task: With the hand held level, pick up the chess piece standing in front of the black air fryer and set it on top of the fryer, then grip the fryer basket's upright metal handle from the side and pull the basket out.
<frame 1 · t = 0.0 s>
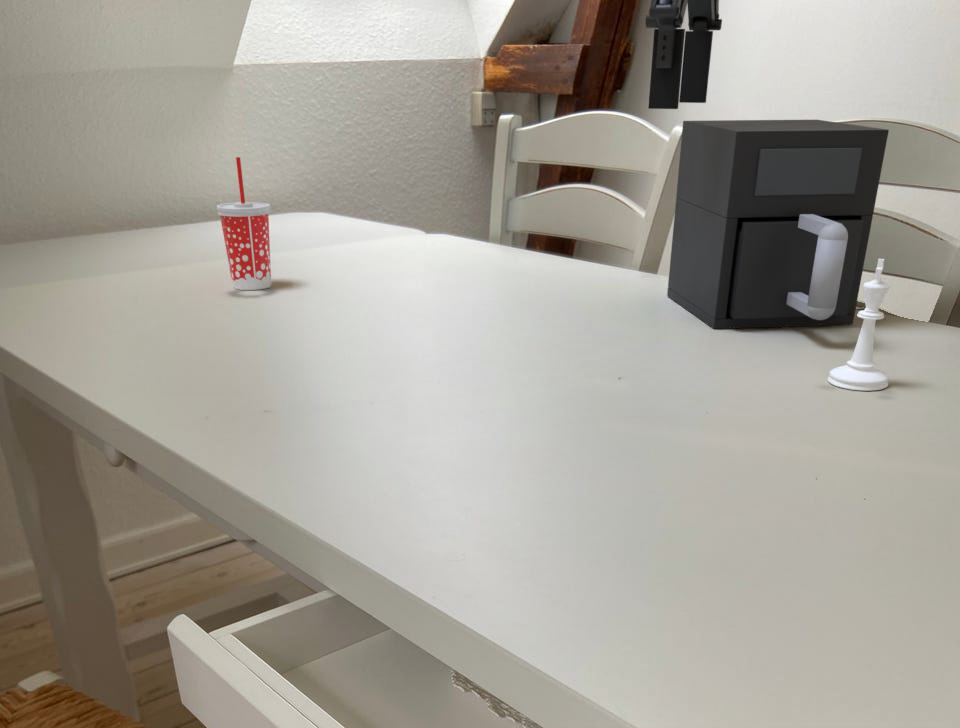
hand: (678, 106, 101), 20 cm above the table, tool pointing down, fingers open, 13 cm apart
fryer: (754, 309, 109), on the table
chess piece: (857, 384, 86), on the table
beverage cup: (252, 287, 120), on the table
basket: (782, 259, 102), point 6 cm above the table, slide at 0.0 cm
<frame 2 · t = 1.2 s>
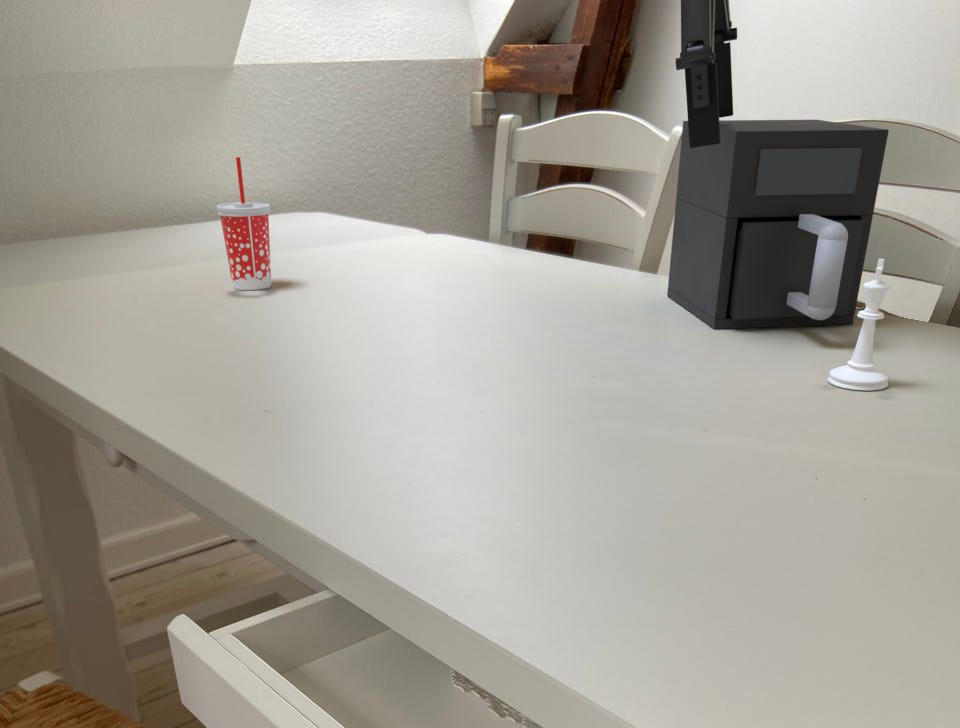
hand: (712, 131, 98), 18 cm above the table, tool pointing down, fingers open, 13 cm apart
nothing on the table moved.
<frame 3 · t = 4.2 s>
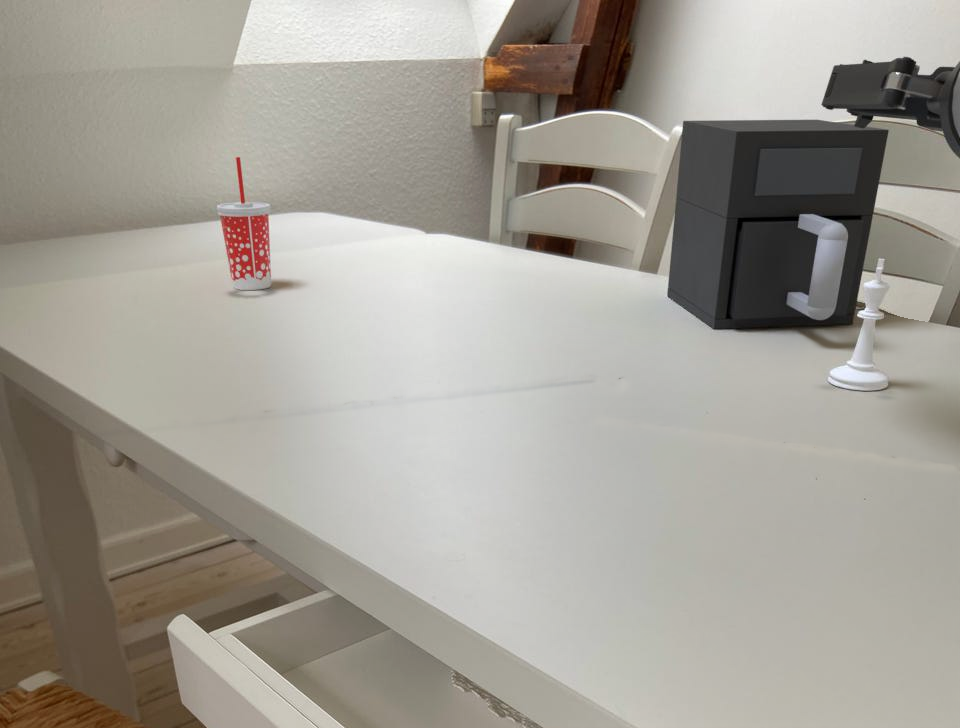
hand: (957, 127, 74), 20 cm above the table, tool horizontal, fingers open, 13 cm apart
nothing on the table moved.
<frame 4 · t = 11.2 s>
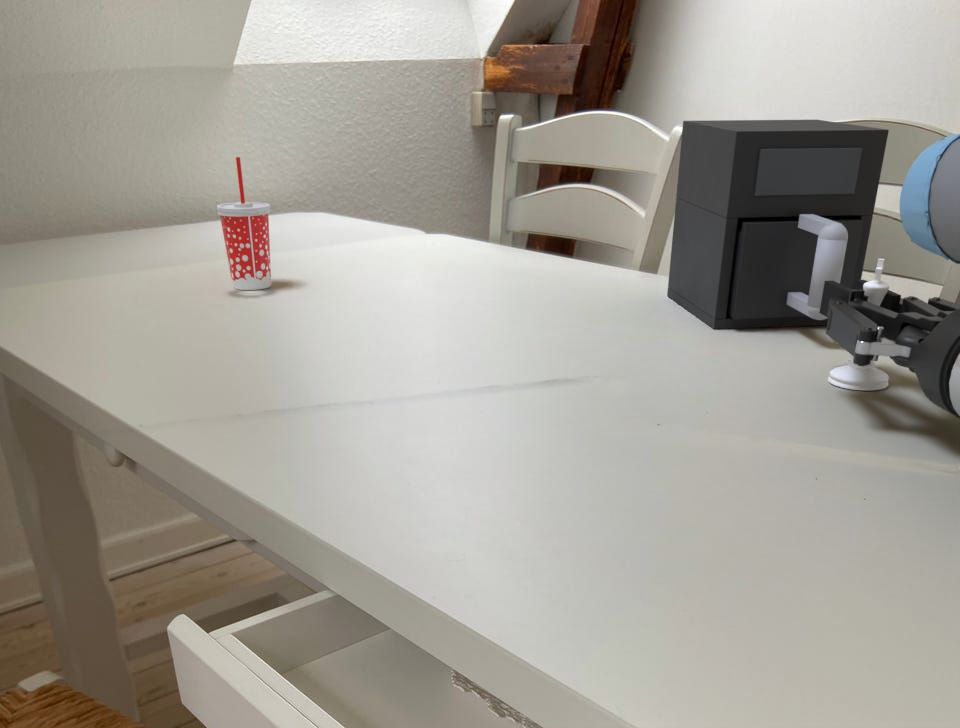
hand: (841, 296, 87), 6 cm above the table, tool horizontal, fingers closed on chess piece, 2 cm apart
chess piece: (857, 384, 86), on the table, touching gripper
everything else where it was.
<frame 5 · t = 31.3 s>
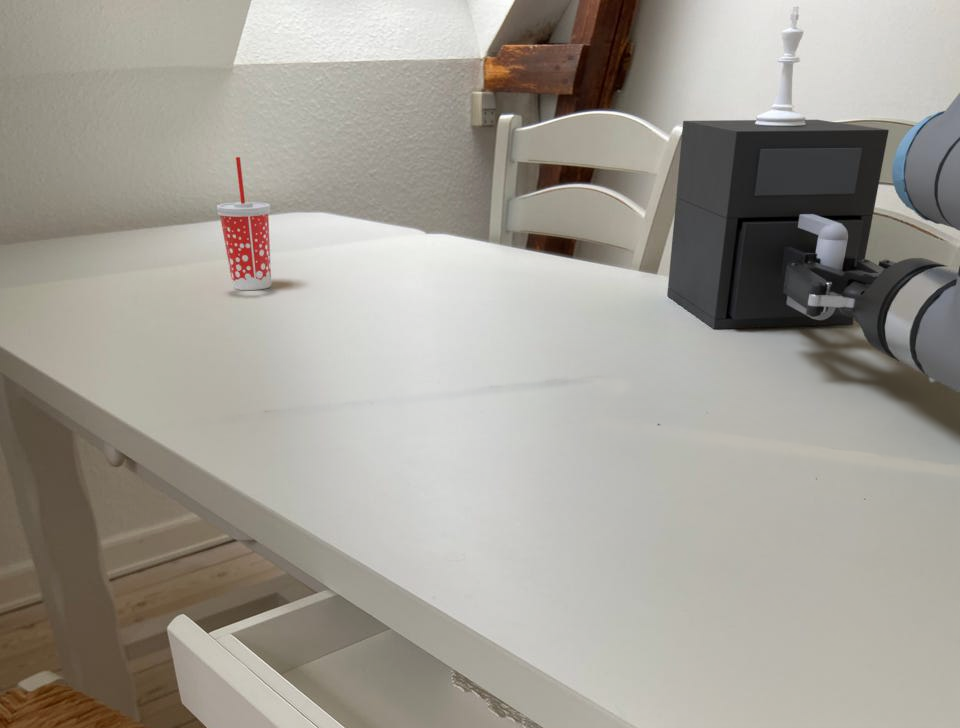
hand: (802, 261, 98), 7 cm above the table, tool horizontal, fingers closed on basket, 3 cm apart
chess piece: (779, 127, 100), point 18 cm above the table, touching fryer
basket: (782, 259, 102), point 6 cm above the table, slide at 0.0 cm, touching gripper
everything else where it was.
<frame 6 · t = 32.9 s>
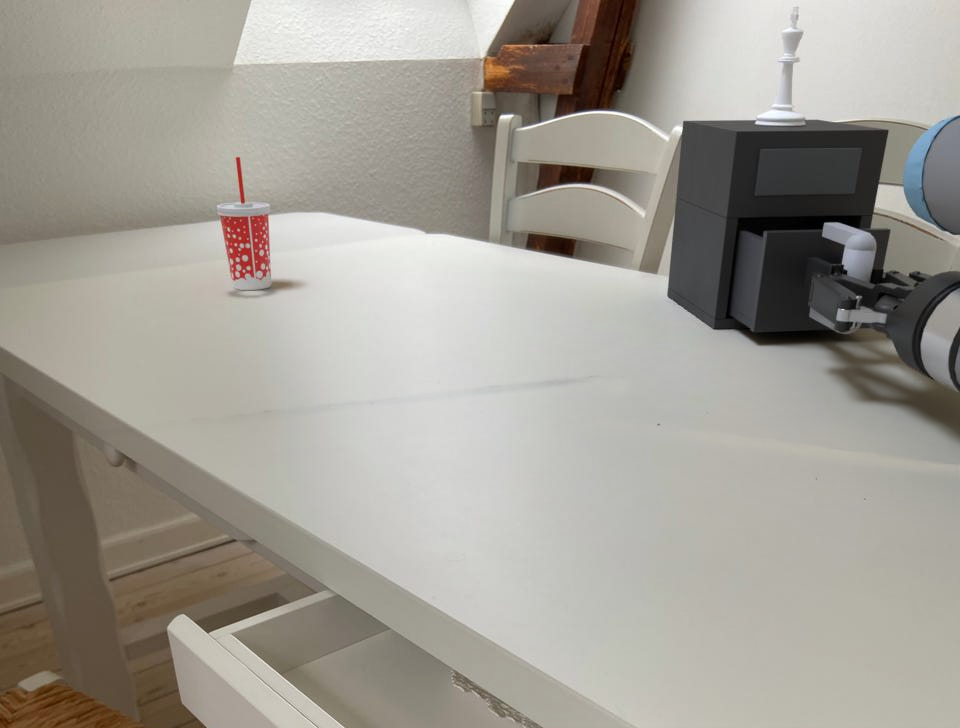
hand: (826, 272, 93), 7 cm above the table, tool horizontal, fingers closed on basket, 3 cm apart
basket: (804, 269, 97), point 6 cm above the table, slide at 5.4 cm, touching gripper
everything else where it was.
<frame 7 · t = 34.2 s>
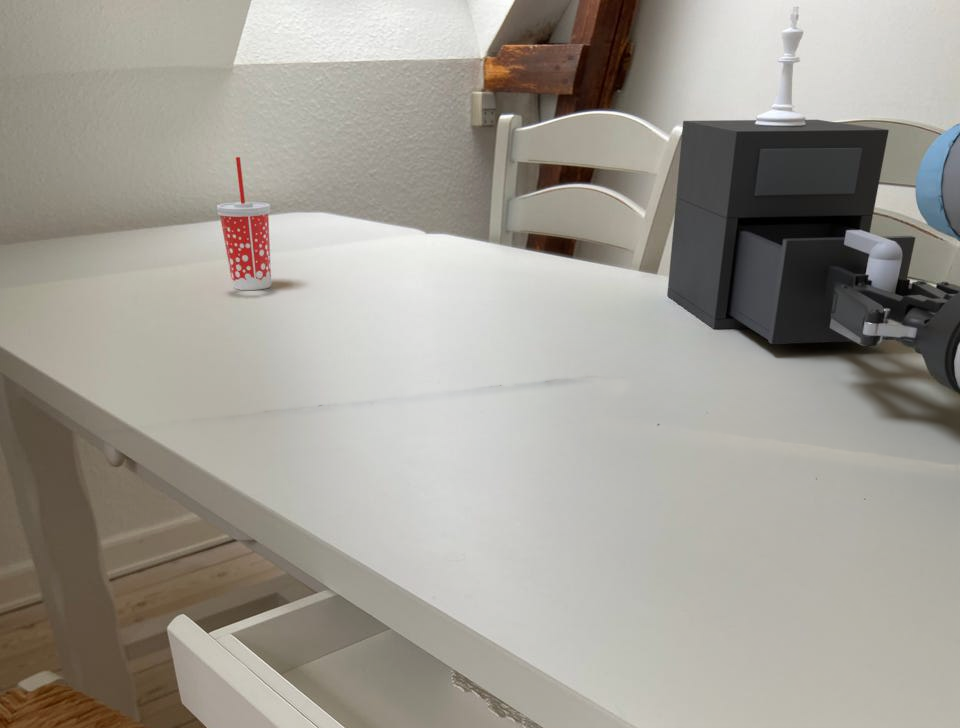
hand: (848, 282, 89), 7 cm above the table, tool horizontal, fingers closed on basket, 3 cm apart
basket: (824, 278, 93), point 6 cm above the table, slide at 9.9 cm, touching gripper
everything else where it was.
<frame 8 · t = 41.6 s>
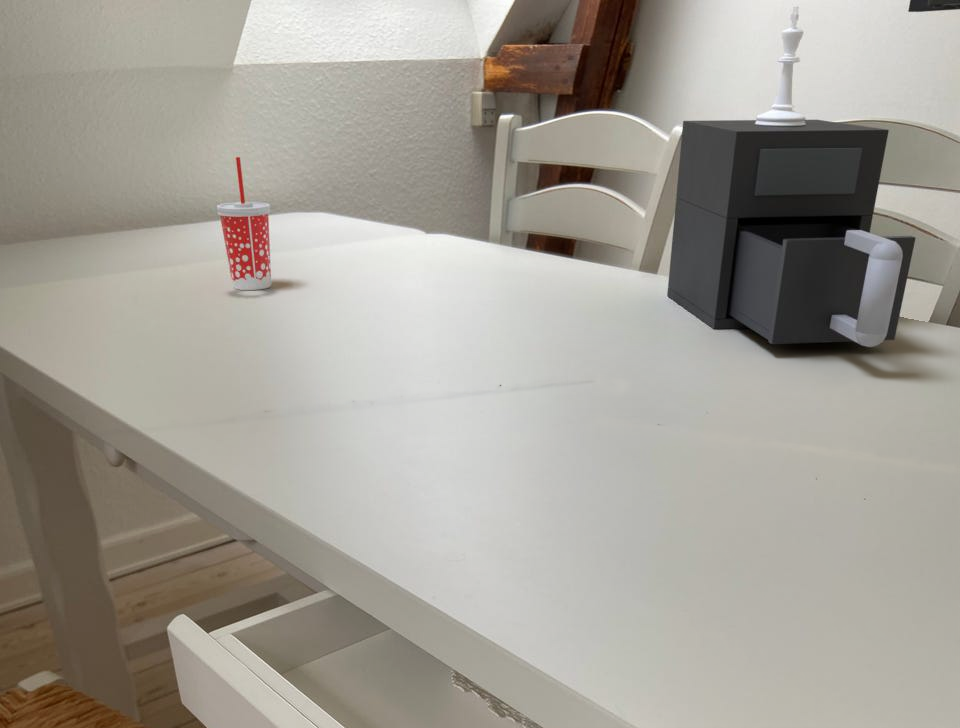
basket: (824, 279, 93), point 6 cm above the table, slide at 10.0 cm
everything else where it was.
at the end: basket slide at 10.0 cm; chess piece inside the target area on the fryer (0.0 cm from its centre), point 17.8 cm above the fryer's base; chess piece tilted 0° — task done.
